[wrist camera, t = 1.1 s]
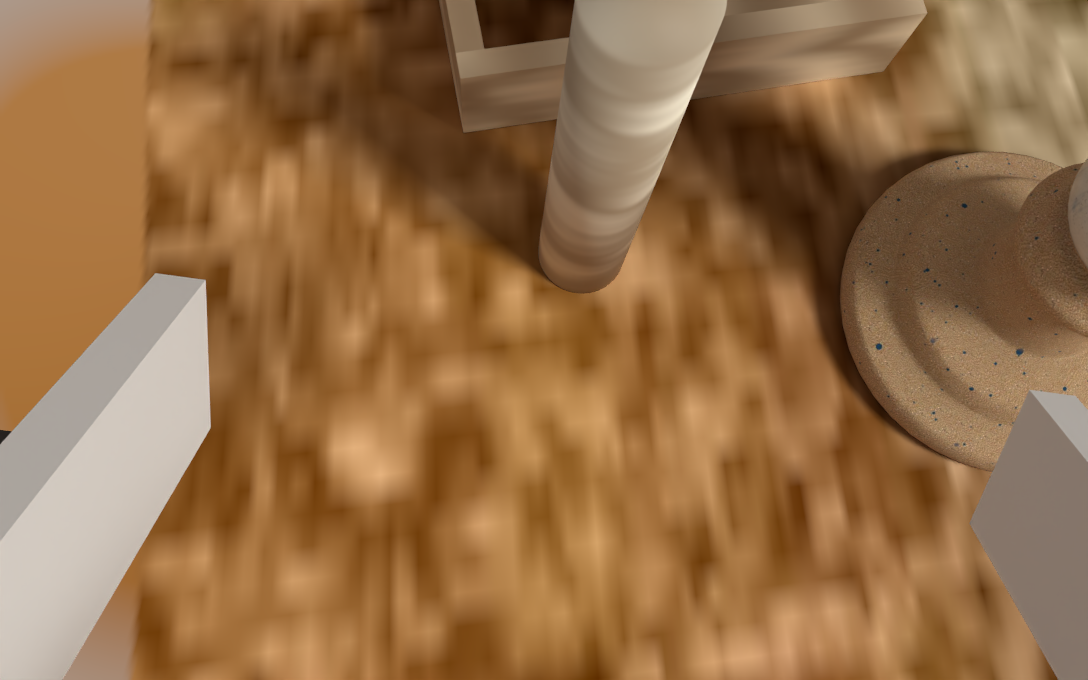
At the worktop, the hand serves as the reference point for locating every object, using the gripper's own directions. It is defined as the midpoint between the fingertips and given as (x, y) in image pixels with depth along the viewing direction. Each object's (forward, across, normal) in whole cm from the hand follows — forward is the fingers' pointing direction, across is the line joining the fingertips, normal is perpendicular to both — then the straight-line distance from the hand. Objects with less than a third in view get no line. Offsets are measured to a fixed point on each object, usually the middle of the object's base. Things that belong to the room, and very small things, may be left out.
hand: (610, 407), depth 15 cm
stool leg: (+20, +1, -6) cm, 21 cm away
